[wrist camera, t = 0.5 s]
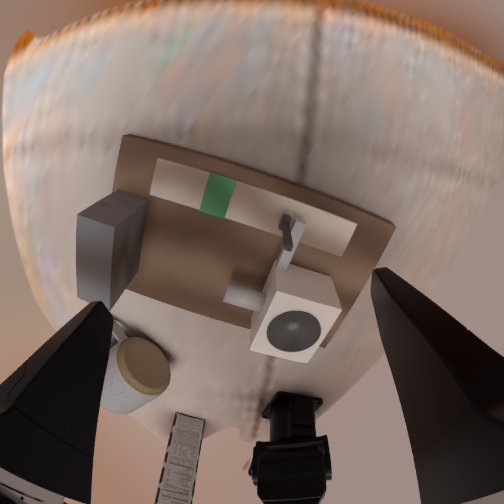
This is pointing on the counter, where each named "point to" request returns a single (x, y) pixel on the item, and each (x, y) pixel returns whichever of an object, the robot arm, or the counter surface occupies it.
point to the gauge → (289, 307)
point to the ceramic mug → (133, 373)
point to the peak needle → (286, 231)
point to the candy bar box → (181, 461)
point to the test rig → (214, 233)
